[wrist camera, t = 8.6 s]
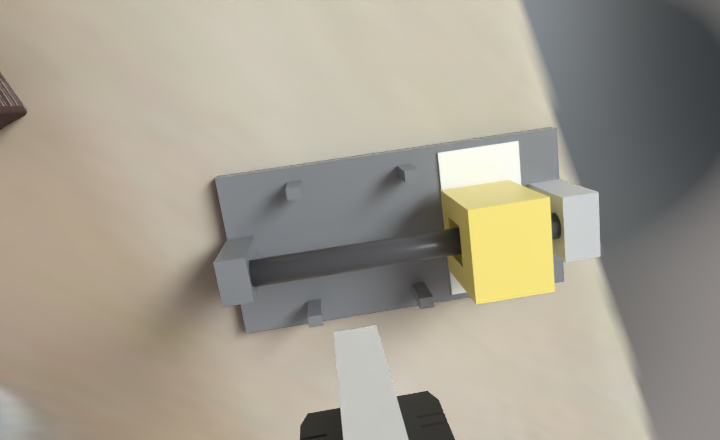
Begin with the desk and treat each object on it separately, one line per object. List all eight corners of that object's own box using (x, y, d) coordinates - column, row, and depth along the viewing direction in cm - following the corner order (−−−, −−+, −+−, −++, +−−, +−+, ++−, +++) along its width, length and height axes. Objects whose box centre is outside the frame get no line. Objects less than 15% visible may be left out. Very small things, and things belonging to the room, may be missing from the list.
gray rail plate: (217, 176, 39) (198, 192, 32) (549, 127, 40) (596, 133, 33) (248, 326, 41) (236, 370, 35) (557, 276, 43) (601, 309, 36)
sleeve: (440, 190, 38) (467, 209, 31) (508, 179, 38) (550, 197, 31) (448, 269, 39) (476, 304, 33) (514, 258, 39) (554, 291, 33)
